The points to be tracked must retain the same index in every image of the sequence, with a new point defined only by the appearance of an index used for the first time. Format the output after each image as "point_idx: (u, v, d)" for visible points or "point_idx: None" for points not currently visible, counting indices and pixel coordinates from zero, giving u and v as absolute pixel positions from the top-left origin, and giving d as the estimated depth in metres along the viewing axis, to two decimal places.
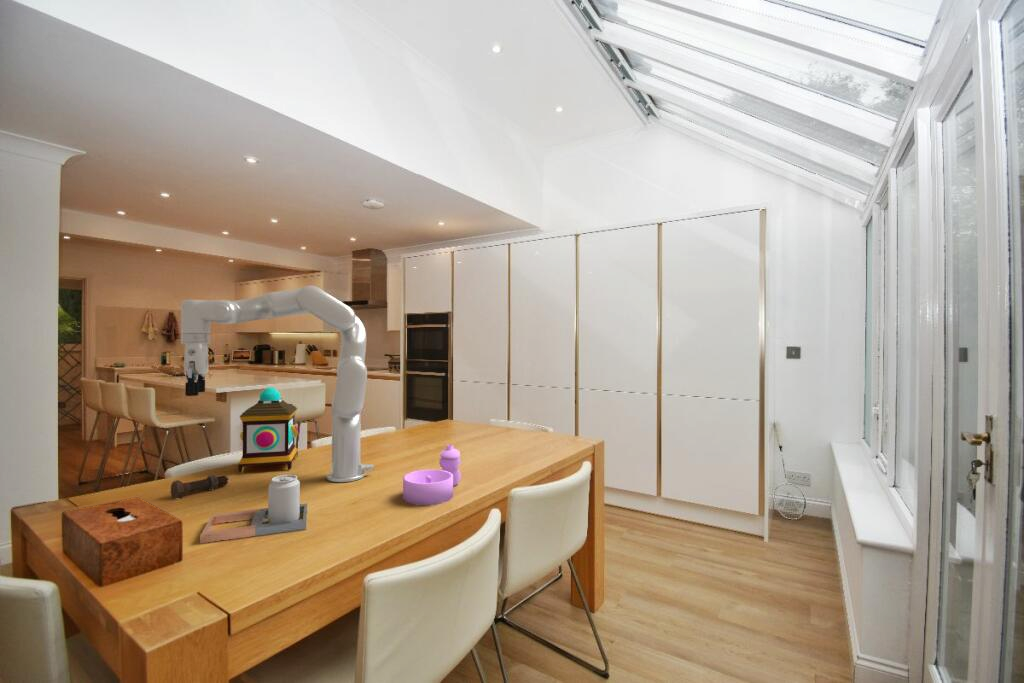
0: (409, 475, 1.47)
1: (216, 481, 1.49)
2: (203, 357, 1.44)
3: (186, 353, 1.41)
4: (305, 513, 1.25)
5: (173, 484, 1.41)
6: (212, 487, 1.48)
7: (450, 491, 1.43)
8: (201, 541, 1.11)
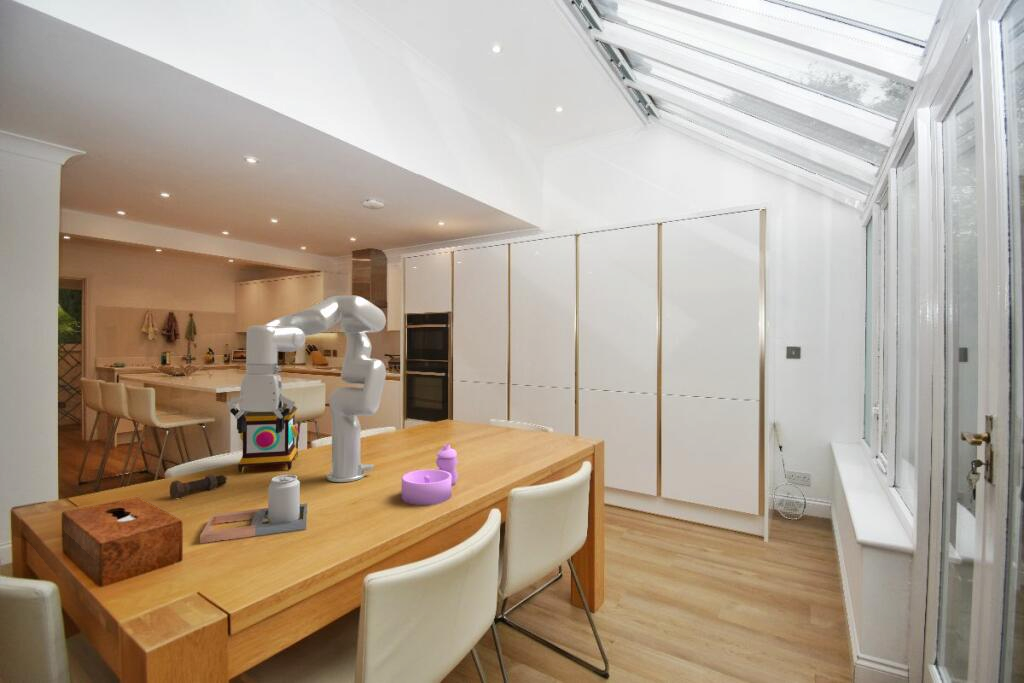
0: (407, 475, 1.47)
1: (215, 481, 1.49)
2: None
3: (277, 386, 1.27)
4: (305, 513, 1.25)
5: (172, 484, 1.41)
6: (211, 487, 1.48)
7: (449, 491, 1.43)
8: (201, 541, 1.11)
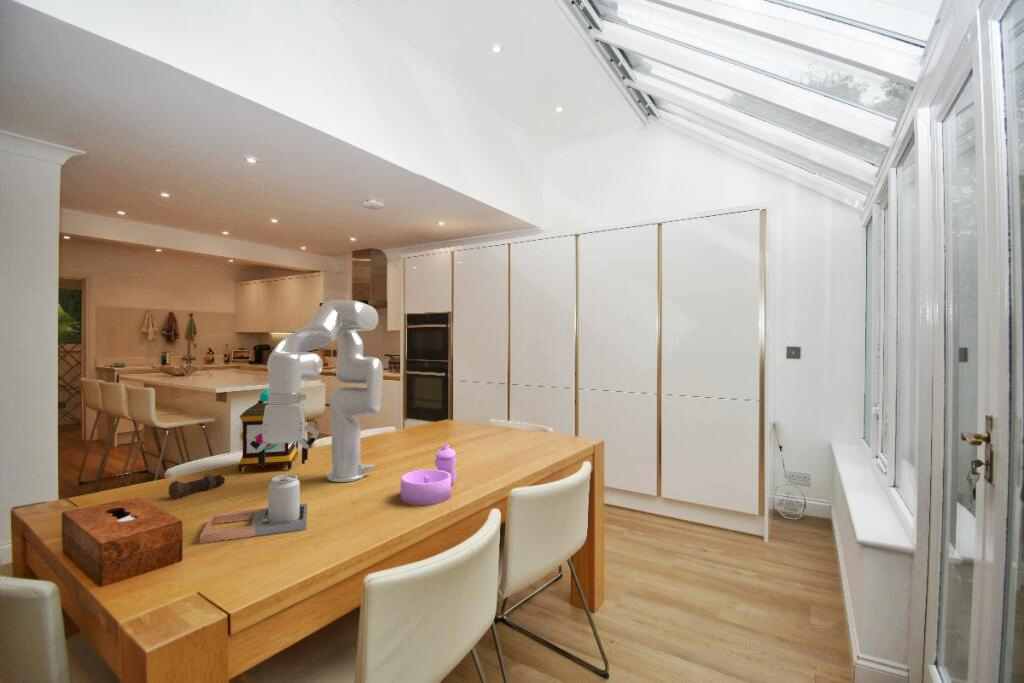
0: (406, 475, 1.47)
1: (214, 481, 1.50)
2: None
3: (303, 415, 1.24)
4: (305, 513, 1.25)
5: (172, 485, 1.41)
6: (210, 487, 1.49)
7: (448, 491, 1.43)
8: (201, 541, 1.11)
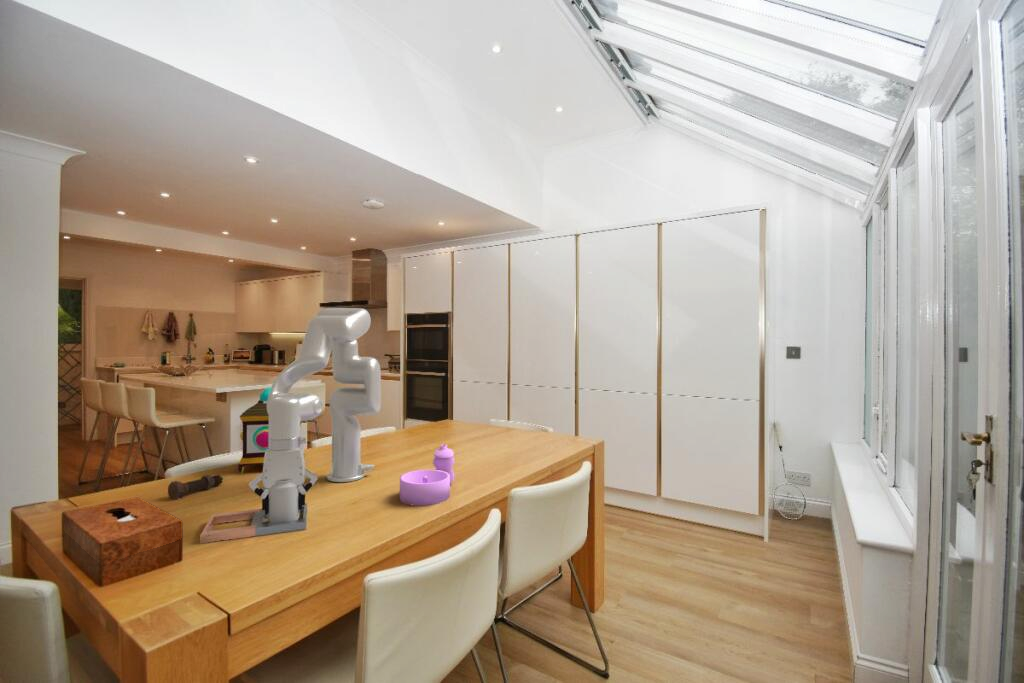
0: (405, 476, 1.47)
1: (212, 480, 1.50)
2: None
3: (303, 459, 1.24)
4: (305, 513, 1.25)
5: (171, 485, 1.41)
6: (209, 486, 1.49)
7: (448, 490, 1.43)
8: (201, 541, 1.11)
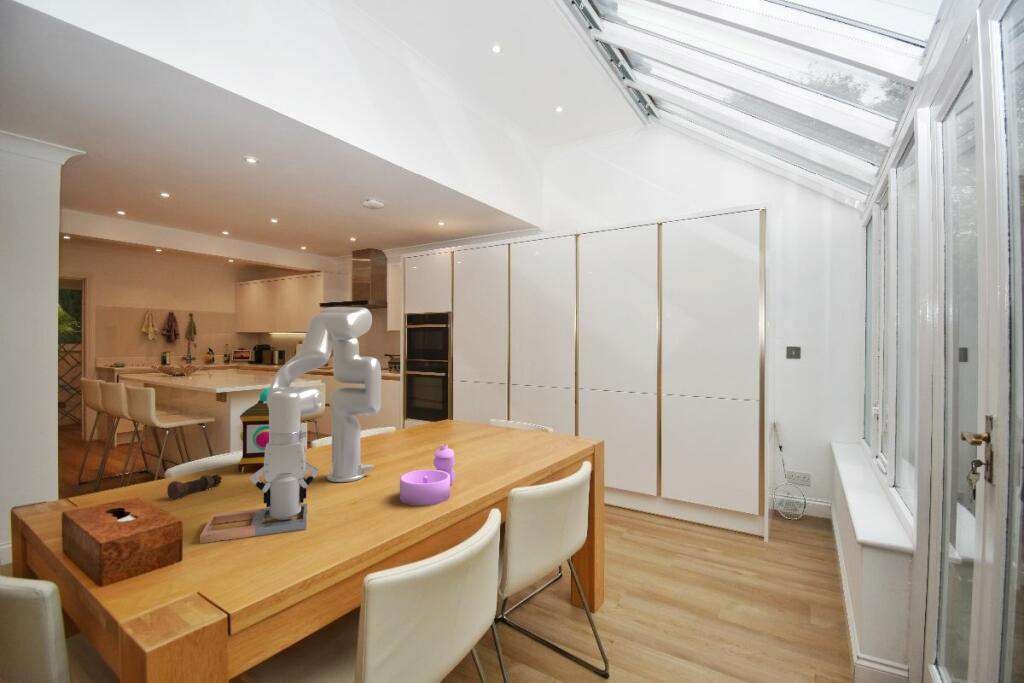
0: (405, 476, 1.46)
1: (212, 480, 1.50)
2: None
3: (304, 453, 1.24)
4: (305, 513, 1.25)
5: (171, 485, 1.41)
6: (208, 486, 1.49)
7: (448, 491, 1.43)
8: (201, 541, 1.11)
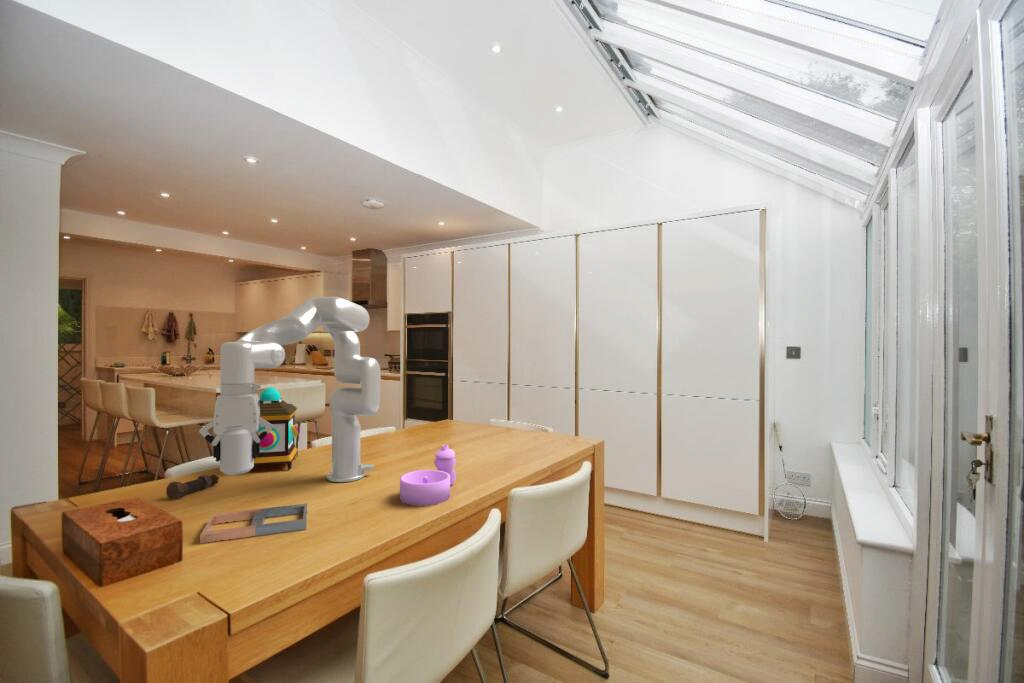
0: (405, 476, 1.46)
1: (210, 480, 1.50)
2: None
3: (257, 406, 1.20)
4: (305, 513, 1.25)
5: (171, 485, 1.40)
6: (206, 486, 1.49)
7: (448, 491, 1.43)
8: (201, 541, 1.11)
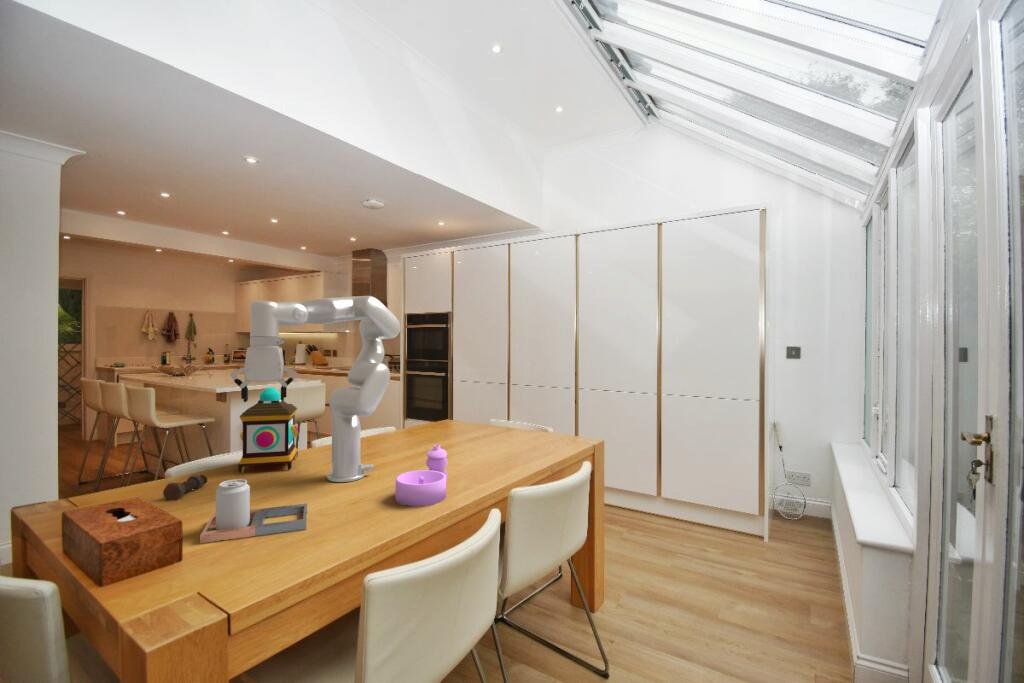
0: (400, 477, 1.45)
1: (202, 480, 1.50)
2: None
3: (281, 357, 1.38)
4: (305, 513, 1.25)
5: (169, 486, 1.39)
6: (199, 486, 1.49)
7: (444, 491, 1.43)
8: (201, 541, 1.11)
